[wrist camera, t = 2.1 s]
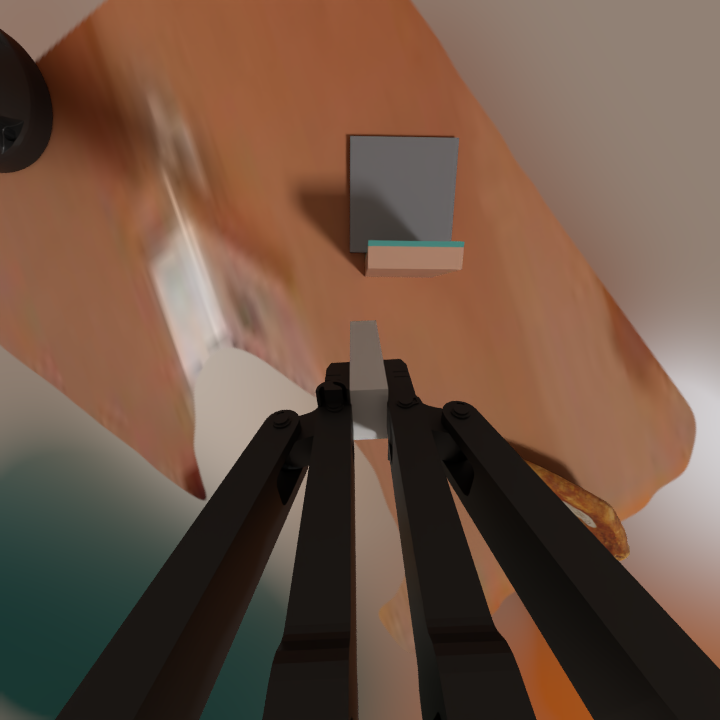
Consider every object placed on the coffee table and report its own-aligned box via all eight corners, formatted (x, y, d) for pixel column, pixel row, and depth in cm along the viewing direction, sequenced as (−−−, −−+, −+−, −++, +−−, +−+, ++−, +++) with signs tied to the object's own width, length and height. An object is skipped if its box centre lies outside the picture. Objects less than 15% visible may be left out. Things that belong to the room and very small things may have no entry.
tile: (364, 276, 37) (367, 268, 27) (365, 257, 37) (368, 240, 26) (431, 277, 37) (461, 269, 27) (433, 258, 37) (464, 241, 26)
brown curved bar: (426, 449, 43) (469, 459, 34) (452, 406, 46) (497, 404, 37) (569, 567, 47) (642, 604, 38) (585, 520, 50) (657, 545, 41)
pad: (350, 252, 37) (349, 251, 36) (350, 138, 34) (350, 136, 33) (448, 253, 37) (450, 253, 36) (457, 140, 34) (459, 137, 33)
